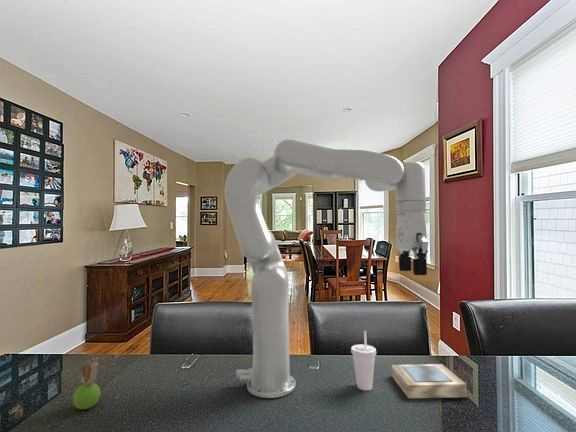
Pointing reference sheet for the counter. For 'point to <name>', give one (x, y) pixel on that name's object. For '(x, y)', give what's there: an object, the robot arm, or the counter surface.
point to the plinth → (428, 381)
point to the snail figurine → (87, 387)
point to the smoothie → (364, 364)
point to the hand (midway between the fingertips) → (412, 272)
